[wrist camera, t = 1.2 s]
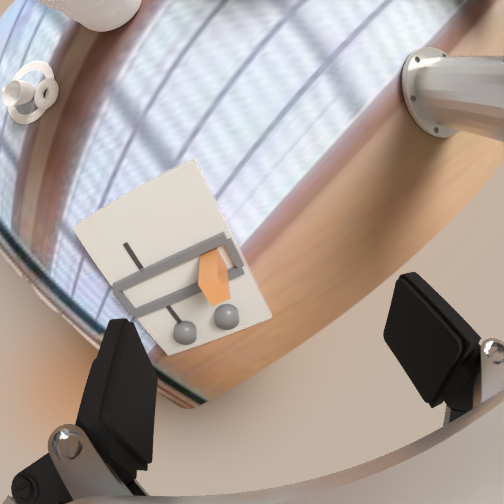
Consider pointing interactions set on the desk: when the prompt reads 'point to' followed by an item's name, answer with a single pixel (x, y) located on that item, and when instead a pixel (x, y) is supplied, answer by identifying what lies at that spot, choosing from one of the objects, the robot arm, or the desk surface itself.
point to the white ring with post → (30, 92)
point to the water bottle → (97, 12)
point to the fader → (213, 277)
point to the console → (172, 259)
